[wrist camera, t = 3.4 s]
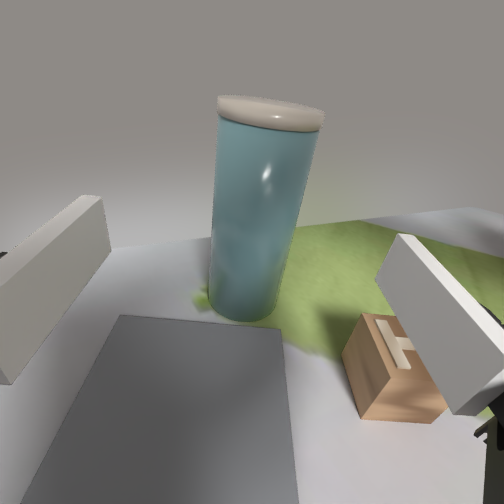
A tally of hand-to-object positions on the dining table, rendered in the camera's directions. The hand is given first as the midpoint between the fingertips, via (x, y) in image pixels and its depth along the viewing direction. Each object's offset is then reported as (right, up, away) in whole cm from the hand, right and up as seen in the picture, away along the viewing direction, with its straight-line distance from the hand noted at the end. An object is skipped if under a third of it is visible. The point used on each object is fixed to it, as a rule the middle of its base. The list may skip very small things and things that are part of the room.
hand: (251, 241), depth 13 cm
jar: (-1, -6, +20) cm, 20 cm away
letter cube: (+12, -13, +12) cm, 21 cm away
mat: (-5, -12, +9) cm, 16 cm away
